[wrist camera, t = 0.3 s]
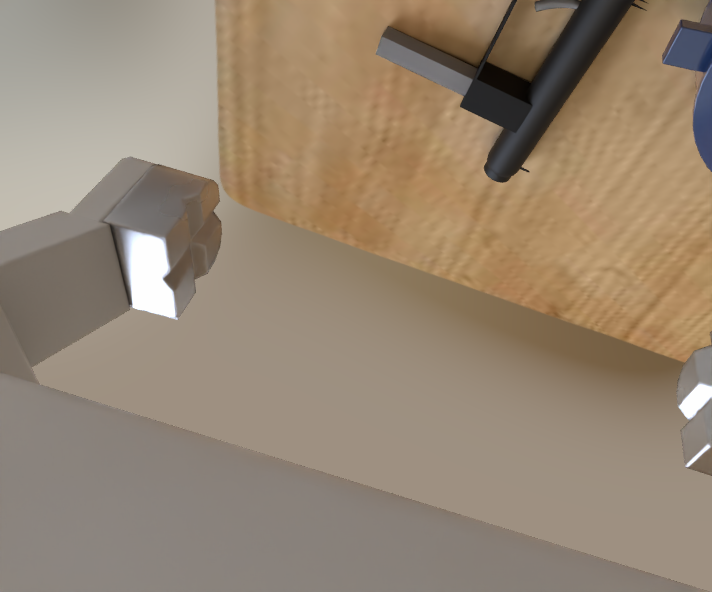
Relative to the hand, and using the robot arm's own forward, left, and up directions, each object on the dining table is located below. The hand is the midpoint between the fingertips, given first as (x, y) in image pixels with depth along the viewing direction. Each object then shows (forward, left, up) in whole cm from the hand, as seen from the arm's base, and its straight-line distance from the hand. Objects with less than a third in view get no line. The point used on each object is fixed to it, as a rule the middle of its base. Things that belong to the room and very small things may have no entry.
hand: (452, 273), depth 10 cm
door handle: (+17, -1, -39) cm, 43 cm away
